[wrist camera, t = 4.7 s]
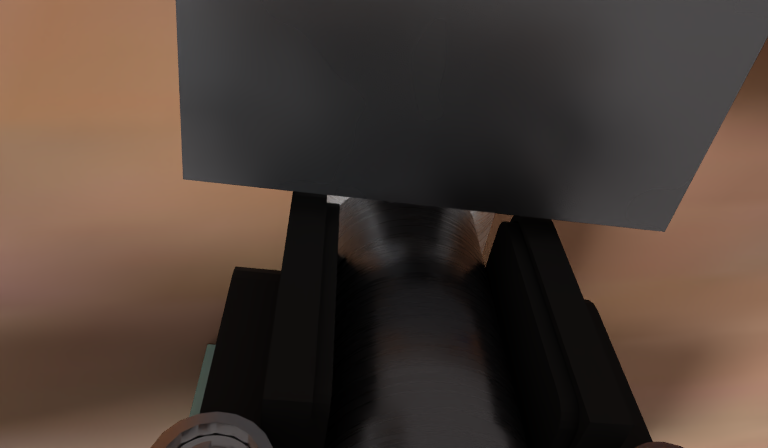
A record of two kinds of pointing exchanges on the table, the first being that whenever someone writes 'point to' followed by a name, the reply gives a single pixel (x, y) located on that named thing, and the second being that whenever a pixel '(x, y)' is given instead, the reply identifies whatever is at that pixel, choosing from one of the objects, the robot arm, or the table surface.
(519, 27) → the sleeve
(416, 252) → the slip tube
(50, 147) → the table surface
